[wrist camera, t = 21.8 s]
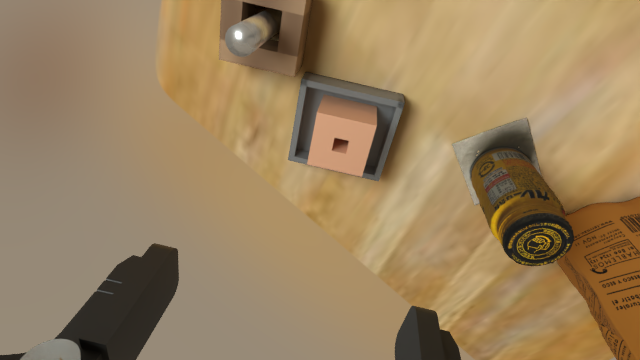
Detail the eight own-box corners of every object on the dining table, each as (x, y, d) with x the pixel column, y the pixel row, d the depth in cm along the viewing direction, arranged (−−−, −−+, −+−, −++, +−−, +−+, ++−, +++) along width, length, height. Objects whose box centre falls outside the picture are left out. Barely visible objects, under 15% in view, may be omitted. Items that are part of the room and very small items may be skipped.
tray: (403, 94, 37) (404, 102, 34) (378, 169, 41) (378, 181, 39) (305, 71, 37) (301, 78, 35) (292, 149, 41) (288, 160, 39)
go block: (314, -12, 33) (307, -9, 29) (301, 65, 36) (294, 76, 33) (238, -30, 33) (222, -28, 29) (233, 49, 36) (219, 59, 33)
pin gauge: (286, 10, 34) (256, 28, 26) (283, 34, 35) (253, 59, 27) (263, 5, 34) (225, 21, 26) (260, 29, 35) (224, 53, 27)
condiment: (474, 204, 42) (505, 282, 32) (451, 143, 39) (478, 210, 29) (543, 183, 40) (600, 261, 30) (525, 116, 36) (583, 178, 26)
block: (363, 153, 40) (361, 176, 36) (314, 142, 40) (307, 164, 36) (376, 106, 37) (376, 125, 33) (323, 94, 37) (316, 112, 33)
